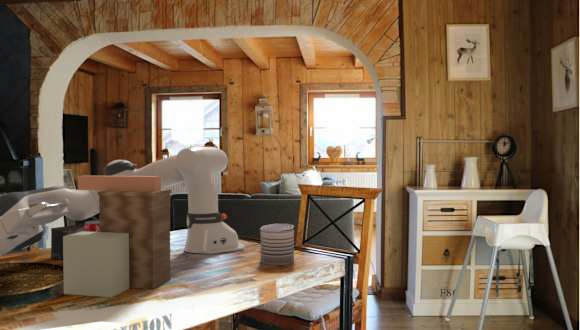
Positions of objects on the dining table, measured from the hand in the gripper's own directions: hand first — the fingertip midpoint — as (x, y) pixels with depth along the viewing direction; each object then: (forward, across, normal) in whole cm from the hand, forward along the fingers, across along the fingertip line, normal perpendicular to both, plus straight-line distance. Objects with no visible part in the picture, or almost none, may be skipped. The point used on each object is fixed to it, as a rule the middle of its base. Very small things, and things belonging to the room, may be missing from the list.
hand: (56, 203), depth 141 cm
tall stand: (+12, 0, -32) cm, 34 cm away
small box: (-25, -25, -11) cm, 37 cm away
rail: (+21, 0, -7) cm, 22 cm away
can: (+39, -35, -48) cm, 71 cm away
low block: (+8, +10, -30) cm, 32 cm away
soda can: (-14, -23, -17) cm, 32 cm away
